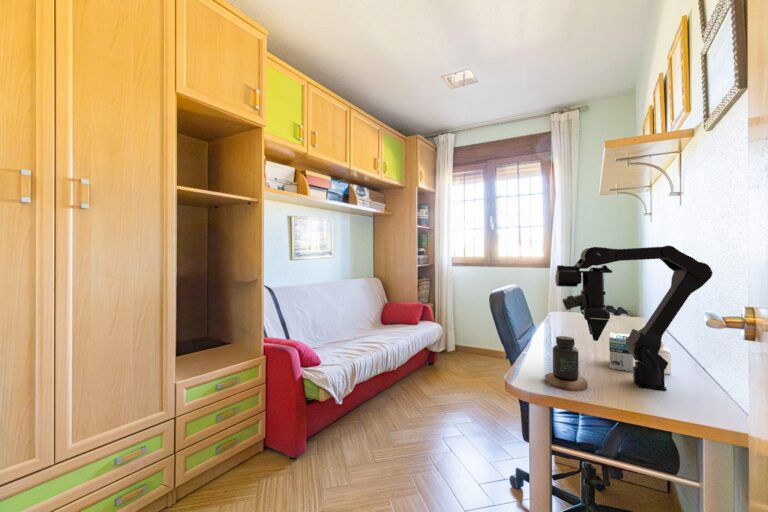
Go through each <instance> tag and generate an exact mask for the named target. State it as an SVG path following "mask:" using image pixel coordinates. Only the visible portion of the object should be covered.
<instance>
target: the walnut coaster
mask: <svg viewBox="0 0 768 512" xmlns="http://www.w3.org/2000/svg"><path fill="white" fill-rule="evenodd" d="M544 378H545V379H544V380H545V383H546V384H547V385H549V386H551V387H552V388H553V387H554V388H555V389H560V390H564V391H570V392H581V391H582V392H583V391H586V390H587V389H588V381H587V379H585V378H583V377H581V376H579V378H578V380H577V381H563V380H559V379H557V378H555V377H554V376H553V372H549V373H546V374H545V376H544Z"/></svg>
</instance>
